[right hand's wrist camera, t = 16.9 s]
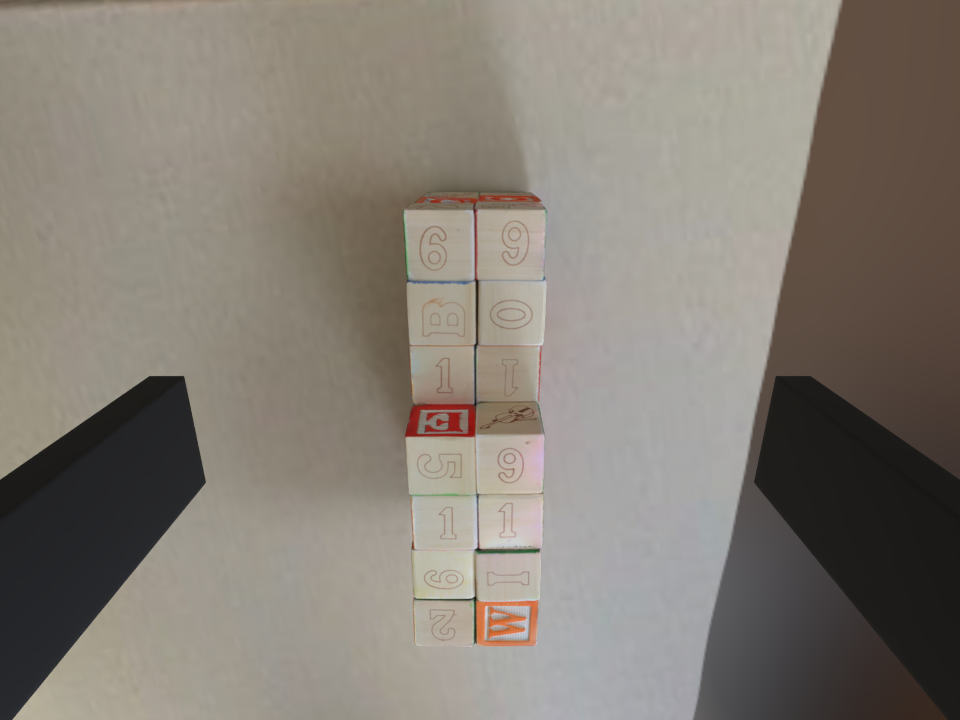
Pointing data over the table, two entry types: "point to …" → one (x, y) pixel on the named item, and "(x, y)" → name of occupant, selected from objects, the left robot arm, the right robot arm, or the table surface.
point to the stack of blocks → (476, 415)
